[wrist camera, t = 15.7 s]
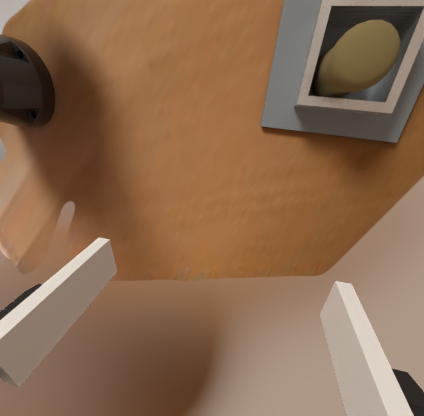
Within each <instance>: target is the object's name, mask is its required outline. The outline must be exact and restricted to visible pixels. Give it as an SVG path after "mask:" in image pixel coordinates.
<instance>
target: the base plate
mask: <svg viewBox="0 0 424 416" xmlns="http://www.w3.org/2000/svg"><path fill="white" fill-rule="evenodd" d="M320 2H321V0H284V4H283V10H282V15H281V20H280V26H279V31H278V36H277V42H276V47H275V52H274V58H273V63H272V68H271V73H270V79H269V84H268V89H267V95H266V100H265V105H264V111H263V116H262V121H261V126H263V127H271V128H279V129H288V130H296V131H304V132H312V133H320V134H329V135H337V136H345V137H353V138H361V139H369V140H378V141H386V142H394V143H397V141H398V139H399V137H400V135H401V133H402V130H403V128H404V126H405V124H406V122H407V119H408V117H409V115H410V113H411V111H412V108H413V106H414V104H415V102H416V100H417V97H418V95H419V93H420V91H421V89H422V86H423V84H424V39H423V41H422V44H421V46H420V48H419V51H418V53H417V55H416V58H415V60H414V63H413V65H412V67H411V70H410V72H409V74H408V77H407V79H406V82H405V84H404V86H403V89H402V91H401V93H400V96H399V98H398V101H397V103H396V105H395V108H394V110H393V112H392V114H378V115H369V114H359V113H349V112H339V111H329V110H319V109H309V108H299V107H294V103H295V98H296V94H297V90H298V86H299V82H300V78H301V73H302V69H303V65H304V61H305V57H306V53H307V48H308V44H309V40H310V36H311V32H312V28H313V24H314V19H315V15H316V13H317V10H318V7H319V5H320ZM351 28H353V27H339V26H326V29H325V33H324V37H323V41H322V44H321V48H320V52H319V56H318V58H319V57H320V56H321V55H322V54H323V53H324V52H326V51H327V50H329V49H330V48H332V47H334V46H335V45H336V43H337V42H338V40H339V39H340V38H341V37H342V36H343V35H344V34H345V33H346V32H347V31H348V30H350V29H351ZM395 29H396V28H395ZM374 87H375V85H373V86H372V87H370V88H368V89H366V90H362V91H357V92H350V93H349V94H348V95H346V96H344V97H342V98H341V99H353V100H364V101H369V100H370V97H371V95H372V92H373V89H374ZM308 96H315V95H314V94H313V93H312V90H311V88H310V90H309V94H308Z"/></svg>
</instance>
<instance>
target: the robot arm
mask: <svg viewBox="0 0 424 416" xmlns="http://www.w3.org/2000/svg"><path fill="white" fill-rule="evenodd" d="M53 108H54V91H53V86H52V82H51V79H50V76H49V74H48V71H47V69H46V67H45V65H44V64H43V62H42V60H41V59H40V57H39V56H38V55H37V54H36V52H35V51H34V50H33V49H32V48H31V47H29V46H28V45H27V44H25V43H24V42H22V41H20V40H18V39H15V38H11V37H8V36H5V35H0V121H1V122H4V123H8V124H12V125H15V126H19V127H40V126H42V125H44V124H46V123H47V122H48V120H49V119H50V117H51V115H52V113H53ZM116 273H117V268H116V264H115V259H114V255H113V251H112V247H111V243H110V239H105V238H98V239H96V240H95V241H94V242H93V243H92V244H91V245H89V246H88V247H87V248H86V249H85V250H83V251H82V252H81V253H80V254H79V255H77V256H76V257H75V258H74V259H73V260H71V261H70V262H69V263H68V264H67V265H66V266H64V267H63V268H62V269H61V270H60V271H58V273H56V274H55V275H54V276H52V277H51V278H50V279H49V280H48V281H46V282H45V283H44V284H43V285H41V284H38V285H36V286H34V287H32V288H31V289H29V290H27V291H25V292H24V293H23V294H22V295H20V296H19V297H18V298H17V299H15V300H14V302H12V303H10V304H9V305H8V306H7V307H5V309H4V310H2V311H1V312H0V378H1V379H2V380H3V381H4V382H5V383H8V384H11V385H14V386H17V387H20V386H21V385H22V384H23V382H24V381H25V380H26V379H27V378H28V376H29V375H30V374H31V373H32V372H33V371H34V369H35V368H36V367H37V366H38V365H39V363H40V362H41V361H42V360H43V359H44V358H45V356H46V355H47V354H48V353H49V352H50V351H51V349H52V348H53V347H54V346H55V345H56V344H57V342H58V341H59V340H60V339H61V338H62V336H63V335H64V334H65V333H66V331H68V329H69V328H70V327H71V326H72V324H73V323H74V322H75V321H76V320H77V319H78V318H79V316H80V315H81V314H82V313H83V312H84V310H85V309H86V308H87V307H88V306H89V305H90V303H91V302H92V301H93V300H94V299H95V298H96V296H97V295H98V294H99V293H100V292H101V290H102V289H103V288H104V287H105V286H106V285H107V283H108V282H109V281H110V280H111V279H112V278H113V276H114V275H115V274H116ZM320 317H321V320H322V324H323V328H324V332H325V335H326V340H327V343H328V347H329V351H330V355H331V359H332V362H333V367H334V371H335V374H336V378H337V382H338V386H339V390H340V394H341V398H342V401H343V405H344V409H345V413H346V416H424V392H423V390H422V389H421V388H420V387H419V386H418V385H417V383H416V382H415V381H414V380H413V379H412V377H411V376H410V375H409V374H408V373H407V372H403V371H399V370H395V369H391V366H390V365H389V362H388V360H387V358H386V356H385V354H384V352H383V350H382V347H381V345H380V343H379V341H378V339H377V337H376V335H375V333H374V330H373V328H372V326H371V324H370V322H369V320H368V318H367V316H366V314H365V311H364V309H363V307H362V305H361V303H360V301H359V299H358V297H357V295H356V293H355V290H354V288H353V286H352V284H349V283H343V282H338V281H335V283H334V285H333V287H332V290H331V292H330V294H329V297H328V299H327V301H326V303H325V305H324V307H323V310H322V312H321V314H320Z"/></svg>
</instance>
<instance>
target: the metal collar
mask: <svg viewBox="0 0 424 416" xmlns="http://www.w3.org/2000/svg"><path fill="white" fill-rule="evenodd" d="M369 20H384V21H386V22H388V23H391V24H392V25H393V26H394V28H396V30H397V31H398V35H399V38H400V50H399V54H398V57H397V59H396V62H395V64H394V65H393V67H392V68H391V70H390V71H389V72H388V74H387V75H386V76H385V77H384V78H383V79H381V80H380V81H379V82H378V83H377V84H375V87H374V89H373V92H372V95H371V97H370V100H369V101H364V100H353V99H341V98H330V97H318V96H308V94H309V90H310V86H311V83H312V79H313V75H314V71H315V67H316V63H317V60H318V56H319V52H320V48H321V44H322V41H323V37H324V33H325V29H326V26H339V27H354V26H356V25H357V24H360V23H363V22H366V21H369ZM423 39H424V0H321V2H320V5H319V7H318V10H317V13H316V15H315V19H314V24H313V28H312V32H311V36H310V40H309V44H308V48H307V53H306V57H305V61H304V65H303V69H302V73H301V78H300V82H299V86H298V90H297V94H296V98H295V103H294V107H299V108H309V109H319V110H329V111H339V112H349V113H359V114H369V115H378V114H392V112H393V110H394V108H395V105H396V103H397V101H398V98H399V96H400V93H401V91H402V89H403V86H404V84H405V82H406V79H407V77H408V74H409V72H410V70H411V67H412V65H413V63H414V60H415V58H416V55H417V53H418V51H419V48H420V46H421V44H422V41H423Z"/></svg>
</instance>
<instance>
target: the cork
mask: <svg viewBox="0 0 424 416" xmlns="http://www.w3.org/2000/svg"><path fill="white" fill-rule="evenodd" d="M399 50H400V38H399V35H398V31H397V30H396V29H395V28H394V26H393V25H392V24H391V23H388V22H386V21H384V20H369V21H366V22H363V23H360V24H357V25H356V26H354V27H353V28H351V29H350V30H348V31H347V32H346V33H345V34H344V35H343V36H342V37H341V38H340V39H339V40H338V42H337V43H336V45H335V46H334V47H332V48H330V49H329V50H327V51H326V52H324V53H323V54H322V55H321V56H320V57H319V58H318V60H317V63H316V67H315V71H314V75H313V79H312V83H311V86H310V88H311V90H312V93H313V94H314V95H315V96H318V97H330V98H342V97H344V96H346V95H348V94H349V93H350V92H357V91H362V90H366V89H368V88H370V87H372V86H373V85H375V84H377V83H378V82H379V81H380V80H381V79H383V78H384V77H385V76H386V75H387V74H388V72H389V71H390V70H391V68H392V67H393V65H394V64H395V62H396V59H397V57H398V54H399Z"/></svg>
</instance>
